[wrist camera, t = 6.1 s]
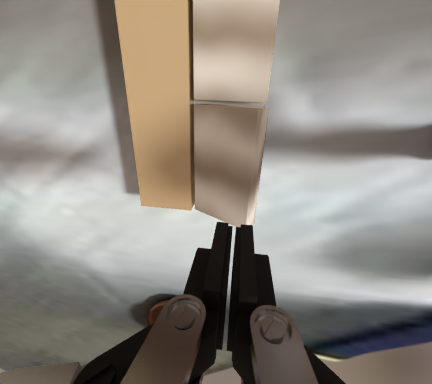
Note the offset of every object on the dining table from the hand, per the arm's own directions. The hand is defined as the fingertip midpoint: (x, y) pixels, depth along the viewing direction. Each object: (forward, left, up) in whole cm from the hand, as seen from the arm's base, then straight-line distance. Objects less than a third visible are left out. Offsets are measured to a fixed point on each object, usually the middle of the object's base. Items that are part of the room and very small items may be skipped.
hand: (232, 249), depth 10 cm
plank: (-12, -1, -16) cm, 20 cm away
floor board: (-6, -5, -18) cm, 19 cm away
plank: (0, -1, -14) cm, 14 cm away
